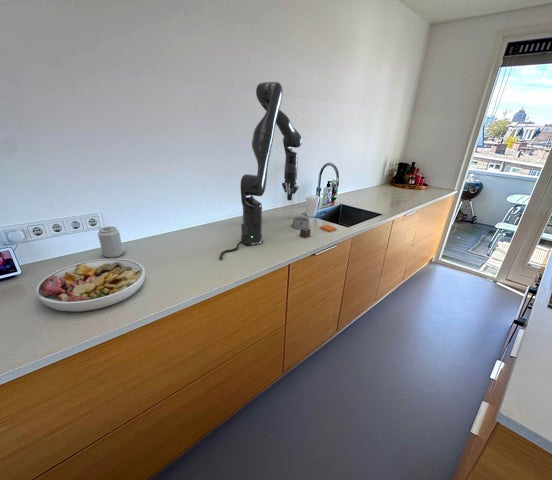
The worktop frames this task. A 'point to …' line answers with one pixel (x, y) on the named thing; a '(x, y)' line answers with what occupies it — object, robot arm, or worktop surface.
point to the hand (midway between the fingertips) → (289, 200)
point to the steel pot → (300, 222)
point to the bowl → (91, 284)
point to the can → (110, 242)
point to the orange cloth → (328, 228)
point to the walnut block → (305, 232)
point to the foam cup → (311, 205)
